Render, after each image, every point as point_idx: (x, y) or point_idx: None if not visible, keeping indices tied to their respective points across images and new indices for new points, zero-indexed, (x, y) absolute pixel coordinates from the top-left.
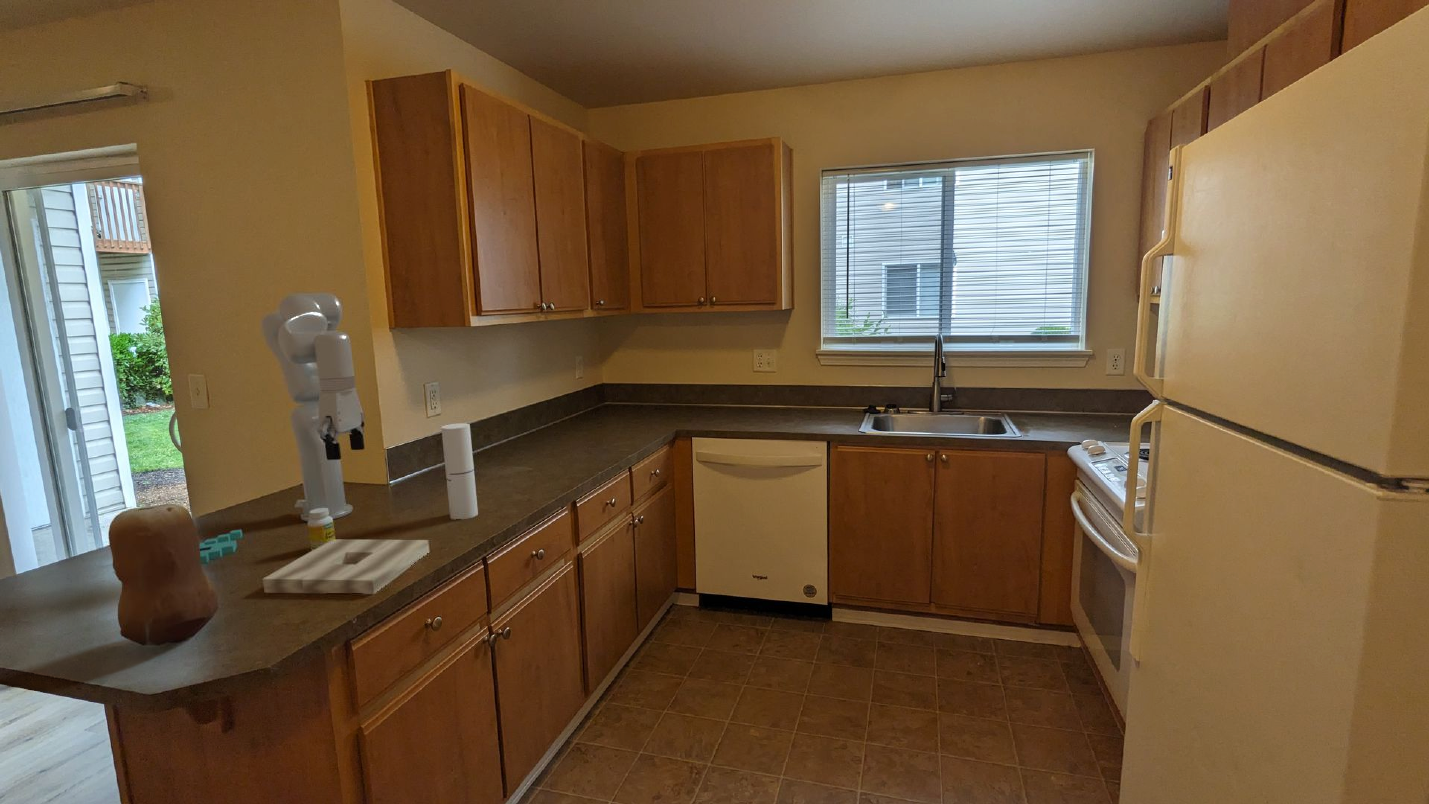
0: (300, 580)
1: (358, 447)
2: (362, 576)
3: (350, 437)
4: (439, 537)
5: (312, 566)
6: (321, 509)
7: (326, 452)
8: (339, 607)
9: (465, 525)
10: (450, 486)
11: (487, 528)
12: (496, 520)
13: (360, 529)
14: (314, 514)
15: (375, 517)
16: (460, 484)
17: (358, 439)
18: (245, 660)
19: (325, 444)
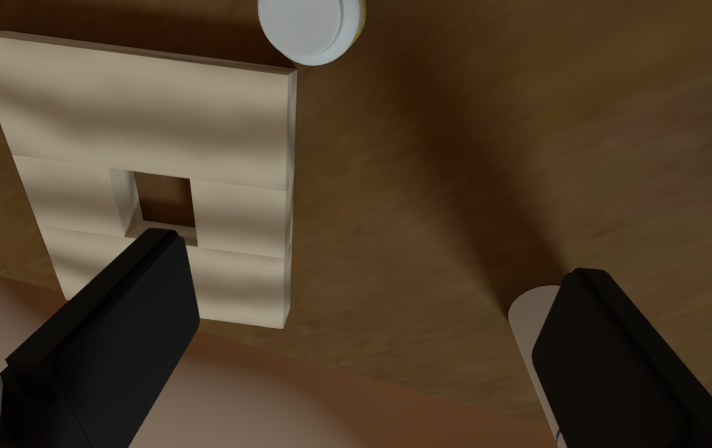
0: (12, 150)
1: (547, 346)
2: (74, 276)
3: (647, 397)
4: (381, 302)
5: (84, 136)
6: (314, 18)
7: (107, 272)
8: (23, 246)
9: (456, 331)
10: None
11: (424, 371)
12: (475, 377)
13: (505, 52)
14: (259, 14)
15: (646, 44)
16: (542, 405)
17: (585, 435)
18: None
19: (25, 350)
